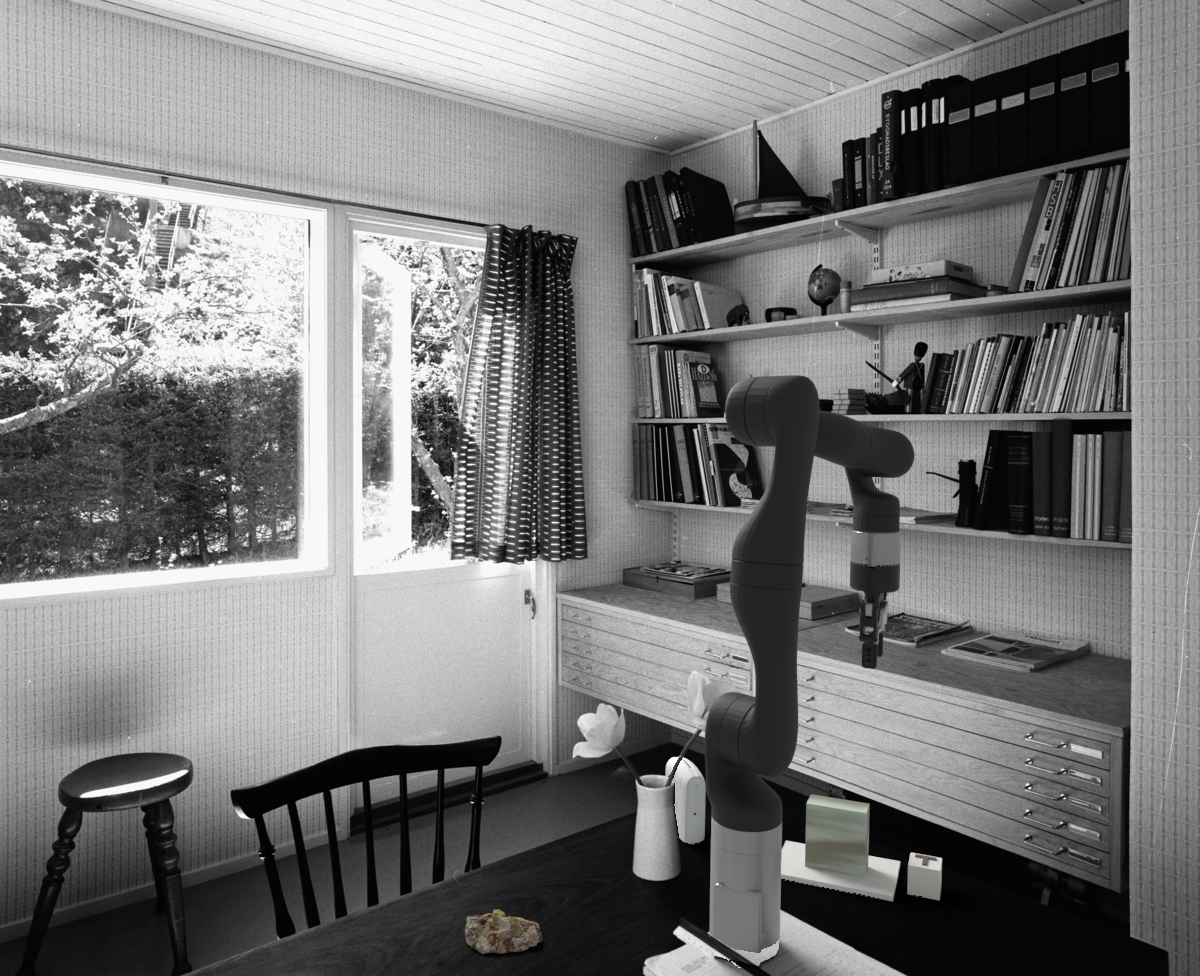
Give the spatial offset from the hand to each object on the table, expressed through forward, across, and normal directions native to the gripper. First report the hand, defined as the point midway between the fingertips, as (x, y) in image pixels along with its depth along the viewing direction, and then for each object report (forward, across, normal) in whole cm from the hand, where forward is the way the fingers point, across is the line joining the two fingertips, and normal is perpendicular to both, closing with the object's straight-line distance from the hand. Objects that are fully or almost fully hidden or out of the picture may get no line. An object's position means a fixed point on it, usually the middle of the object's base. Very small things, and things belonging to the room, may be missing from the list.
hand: (872, 661), depth 143 cm
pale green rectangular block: (+31, +6, -4) cm, 32 cm away
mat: (+32, +6, -4) cm, 33 cm away
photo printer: (+32, +2, -30) cm, 44 cm away
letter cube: (+32, +6, +9) cm, 34 cm away
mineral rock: (+33, +44, -42) cm, 69 cm away
